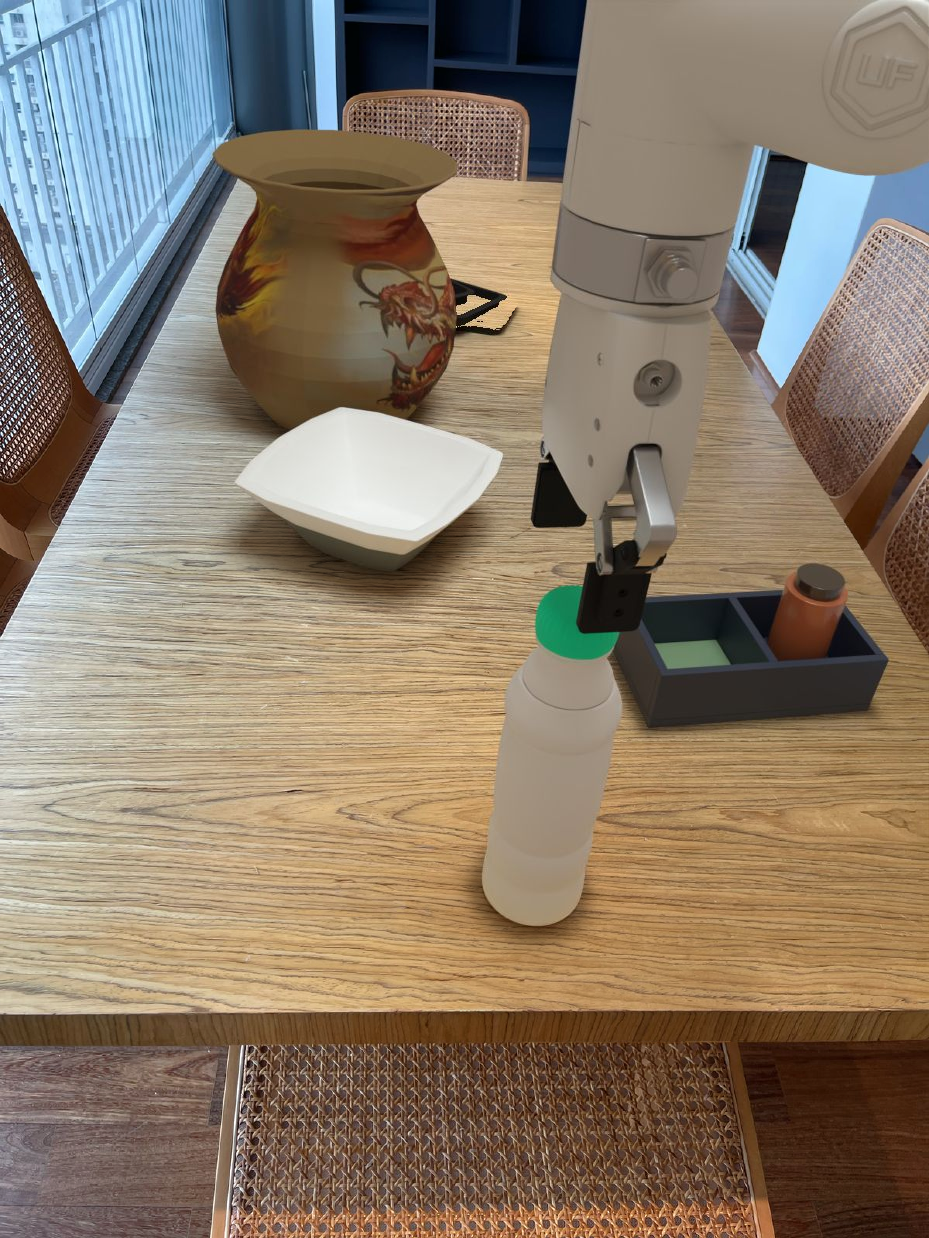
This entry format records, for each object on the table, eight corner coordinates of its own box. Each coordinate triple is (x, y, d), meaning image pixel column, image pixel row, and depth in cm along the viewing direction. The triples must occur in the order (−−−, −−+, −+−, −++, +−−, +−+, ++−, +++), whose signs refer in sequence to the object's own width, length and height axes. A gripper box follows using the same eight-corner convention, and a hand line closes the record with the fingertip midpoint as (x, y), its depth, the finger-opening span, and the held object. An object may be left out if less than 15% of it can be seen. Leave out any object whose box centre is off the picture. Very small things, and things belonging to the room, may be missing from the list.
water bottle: (490, 840, 74) (527, 558, 59) (585, 860, 73) (648, 579, 58) (471, 918, 68) (507, 629, 53) (574, 940, 67) (640, 653, 52)
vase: (441, 471, 117) (458, 204, 99) (196, 449, 117) (169, 178, 99) (457, 371, 140) (474, 140, 122) (253, 353, 140) (239, 119, 122)
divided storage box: (611, 650, 93) (622, 598, 89) (813, 637, 96) (831, 586, 93) (648, 729, 84) (662, 675, 81) (867, 711, 88) (889, 659, 85)
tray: (520, 298, 166) (523, 266, 162) (516, 352, 147) (519, 318, 144) (340, 281, 166) (340, 249, 163) (313, 333, 148) (312, 298, 144)
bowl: (334, 465, 117) (333, 398, 111) (514, 520, 110) (522, 451, 105) (219, 555, 100) (212, 481, 95) (422, 627, 93) (426, 551, 88)
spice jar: (802, 648, 93) (834, 557, 87) (828, 685, 89) (864, 592, 83) (750, 652, 92) (779, 560, 86) (774, 689, 88) (806, 596, 82)
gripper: (805, 332, 38) (703, 673, 48) (655, 200, 51) (600, 490, 62) (616, 330, 36) (553, 683, 47) (513, 195, 50) (481, 493, 60)
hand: (580, 573), depth 54 cm, fingers open, 9 cm apart
